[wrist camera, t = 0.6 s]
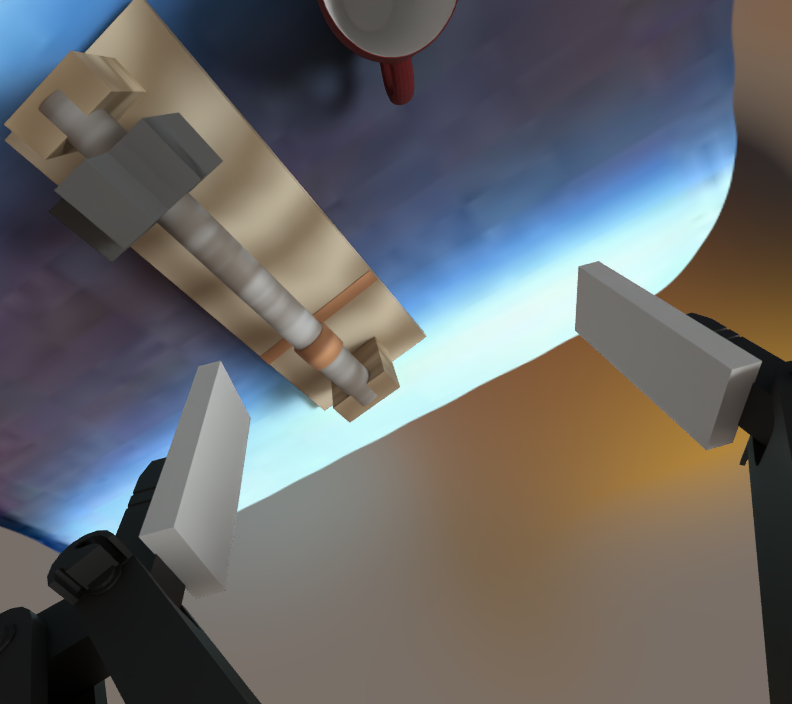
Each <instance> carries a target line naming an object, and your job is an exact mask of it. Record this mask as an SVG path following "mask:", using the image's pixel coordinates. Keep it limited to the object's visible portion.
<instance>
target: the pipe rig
mask: <svg viewBox="0 0 792 704" xmlns="http://www.w3.org/2000/svg"><path fill="white" fill-rule="evenodd" d="M178 112H179V113H180V114H181V115H182V116H183V117H184V119H185V120H186V121H187V122H188V123H189V124H190V125H191V126H192V127H193V128H194V129H195V131H196V132H197V133H198V134H199V135H200V136H201V137H202V138H203V139H204V140H205V141H206V143H207V144H208V145H209V146H210V147H211V148H212V149H213V150H214V151H215V152H216V153H217V155H218V156H219V157H220V158H221V159H222V160H223V162H222V163H221V164H220V165H219V166H217V167H216V168H215V169H214V170H213V171H212V172H211V173H210V174H209V175H208V176H207V177H206V178H205V179H203V180H202V181H201V182H200V183H199V184H198V185H197V186H196V187H195V188H194V189H193V190H192V191H190V192H189V193H187V194H185V195H184V196H183V197H182V198H181V199H180V200H179V201H178V202H177V203H176V204H175V205H174V206H173V207H171V208H170V209H169V210H168V211H167V212H166V213H165V214H164V215H163V216H162V217H161V218H160V219H159V220H157V221H156V222H157V223H156V224H155V225H154V226H153V227H152V228H151V229H149V230H148V231H147V232H146V233H145V234H144V235H143V236H141V237H140V238H139V239H138V240H137V241H136V242H134V243H133V244H132V245H131V246H130V247H131V248H132V249H134V250H135V251H136V252H137V253H138V254H140V255H141V256H142V257H143V258H144V259H145V260H147V261H148V262H149V263H150V264H151V265H153V266H154V267H155V268H156V269H157V270H159V271H160V272H161V273H162V274H163V275H164V276H166V277H167V278H168V279H169V280H170V281H172V282H173V283H174V284H175V285H176V286H177V287H179V288H180V289H181V290H182V291H183V292H185V293H186V294H187V295H188V296H189V297H190V298H192V299H193V300H194V301H195V302H196V303H198V304H199V305H200V306H201V307H202V308H204V309H205V310H206V311H207V312H208V313H209V314H211V315H212V316H213V317H214V318H215V319H217V320H218V321H219V322H220V323H221V324H222V325H224V326H225V327H226V328H227V329H228V330H230V331H231V332H232V333H233V334H234V335H235V336H237V337H238V338H239V339H240V340H241V341H243V342H244V343H245V344H246V345H247V346H249V347H250V348H251V349H252V350H253V351H254V352H256V353H257V354H258V355H259V356H260V357H261V358H262V359H263V360H264V361H265V362H267V363H268V364H270V365H271V366H272V367H273V368H275V369H276V370H277V371H278V372H279V373H280V374H282V375H283V376H284V377H285V378H286V379H288V380H289V381H290V382H291V383H292V384H294V385H295V386H296V387H297V388H298V389H299V390H301V391H302V392H303V393H304V394H305V395H307V396H308V397H309V398H310V399H311V400H312V401H314V402H315V403H316V404H317V405H318V406H320V407H321V408H322V409H323V410H324V411H325V410H326V409H328V408H329V407H331V406H332V405H333V409H335V410H336V411H337V412H338V413H339V414H340V415H342V416H343V417H344V418H345V419H346V420H347V421H349V422H351V421H353V420H354V419H356V418H357V417H358V416H360V415H361V414H363V413H364V412H366V411H367V410H368V409H370V408H371V407H373V406H374V405H375V404H377V403H378V402H380V401H381V400H382V399H384V398H385V397H387V396H388V395H389V394H391V393H392V392H394V391H395V390H396V389H398V388H399V387H400V386H399V382H398V379H397V376H396V373H395V370H394V366H393V363H392V361H394V360H395V359H397V358H398V357H399V356H401V355H402V354H403V353H405V352H406V351H408V350H409V349H410V348H412V347H413V346H414V345H416V344H417V343H419V342H420V341H421V340H423V339H424V338H425V337H426V336H425V333H424V331H423V330H422V329H421V328H420V327H419V325H418V324H417V323H416V322H415V321H414V320H413V318H412V317H411V316H410V315H409V314H408V312H407V311H406V310H405V309H404V308H403V306H402V305H401V304H400V303H399V302H398V300H397V299H396V298H395V297H394V296H393V294H392V293H391V292H390V291H389V290H388V288H387V287H386V286H385V285H384V284H383V283H382V281H381V280H380V279H379V278H378V277H377V275H376V274H375V273H374V272H373V271H372V269H371V268H370V267H369V266H368V265H367V263H366V262H365V261H364V260H363V259H362V257H361V256H360V255H359V254H358V253H357V252H356V250H355V249H354V248H353V247H352V246H351V244H350V243H349V242H348V241H347V240H346V238H345V237H344V236H343V235H342V234H341V232H340V231H339V230H338V229H337V228H336V226H335V225H334V224H333V223H332V222H331V221H330V219H329V218H328V217H327V216H326V215H325V213H324V212H323V211H322V210H321V209H320V207H319V206H318V205H317V204H316V203H315V201H314V200H313V199H312V198H311V197H310V195H309V194H308V193H307V192H306V191H305V189H304V188H303V187H302V186H301V185H300V184H299V182H298V181H297V180H296V179H295V178H294V176H293V175H292V174H291V173H290V172H289V170H288V169H287V168H286V167H285V166H284V164H283V163H282V162H281V161H280V160H279V158H278V157H277V156H276V155H275V154H274V153H273V151H272V150H271V149H270V148H269V147H268V145H267V144H266V143H265V142H264V141H263V139H262V138H261V137H260V136H259V135H258V133H257V132H256V131H255V130H254V129H253V127H252V126H251V125H250V124H249V123H248V121H247V120H246V119H245V118H244V117H243V116H242V114H241V113H240V112H239V111H238V110H237V108H236V107H235V106H234V105H233V104H232V102H231V101H230V100H229V99H228V98H227V96H226V95H225V94H224V93H223V92H222V90H221V89H220V88H219V87H218V86H217V85H216V83H215V82H214V81H213V80H212V79H211V77H210V76H209V75H208V74H207V73H206V71H205V70H204V69H203V68H202V67H201V65H200V64H199V63H198V62H197V61H196V59H195V58H194V57H193V56H192V55H191V53H190V52H189V51H188V50H187V49H186V48H185V46H184V45H183V44H182V43H181V42H180V40H179V39H178V38H177V37H176V36H175V34H174V33H173V32H172V31H171V30H170V28H169V27H168V26H167V25H166V24H165V22H164V21H163V20H162V19H161V18H160V17H159V15H158V14H157V13H156V12H155V11H154V9H153V8H152V7H151V6H150V5H149V3H148V2H147V1H146V0H133V1H132V2H131V3H130V4H129V5H128V6H127V8H126V9H125V10H124V11H123V12H122V13H121V14H120V15H119V16H118V17H117V18H116V20H115V21H114V22H113V23H112V24H111V25H110V26H109V27H108V28H107V29H106V30H105V31H104V33H103V34H102V35H101V36H100V37H99V38H98V39H97V40H96V41H95V42H94V43H93V44H92V46H91V47H90V48H89V49H88V50H87V51H86V52H85V53H82V52H76V51H70V52H69V53H68V54H67V56H66V57H65V58H64V59H63V60H62V61H61V62H60V63H59V64H58V65H57V66H56V68H55V69H54V70H53V71H52V72H51V73H50V74H49V75H48V76H47V77H46V79H45V80H44V81H43V82H42V83H41V84H40V85H39V86H38V87H37V88H36V90H35V91H34V92H33V93H32V94H31V95H30V96H29V97H28V98H27V99H26V101H25V102H24V103H23V104H22V105H21V106H20V107H19V108H18V109H17V110H16V111H15V113H14V114H13V115H12V116H11V117H10V118H9V119H8V120H7V121H6V122H5V124H4V125H5V126H6V127H7V128H9V129H10V130H11V131H12V132H11V134H10V135H9V136H8V137H7V138H6V139H5V141H6V142H7V143H8V144H9V145H10V146H12V147H13V148H14V149H15V150H16V151H18V152H19V153H20V154H21V155H22V156H24V157H25V158H26V159H27V160H28V161H29V162H31V163H32V164H33V165H34V166H35V167H37V168H38V169H39V170H40V171H41V172H42V173H44V174H45V175H46V176H47V177H48V178H50V179H51V180H52V181H53V182H54V183H55V184H57V185H58V186H59V185H60V184H61V183H62V182H63V181H64V180H65V179H66V178H67V177H68V176H69V175H70V174H71V173H72V172H73V171H74V170H75V169H76V168H77V167H78V166H79V165H80V164H81V163H82V162H83V161H84V160H85V159H88V158H91V157H94V156H97V155H101V154H104V153H107V152H109V151H110V150H111V149H112V148H113V147H114V146H115V145H116V144H117V143H118V142H119V141H120V140H121V139H122V138H123V137H124V136H125V135H126V134H127V133H128V132H129V131H130V130H131V129H132V128H133V127H134V126H135V125H136V124H137V123H138V122H139V121H140V120H141V119H142V118H147V117H153V116H159V115H165V114H171V113H178Z"/></svg>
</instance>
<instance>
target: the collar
mask: <svg viewBox="0 0 792 704" xmlns="http://www.w3.org/2000/svg"><path fill="white" fill-rule="evenodd" d="M222 162H223V160H222V159H221V158H220V157H219V156H218V155H217V153H216V152H215V151H214V150H213V149H212V148H211V147H210V146H209V145H208V144H207V143H206V141H205V140H204V139H203V138H202V137H201V136H200V135H199V134H198V133H197V132H196V131H195V129H194V128H193V127H192V126H191V125H190V124H189V123H188V122H187V121H186V120H185V119H184V117H183V116H182V115H181V114H180V113H179V112H178V113H171V114H165V115H159V116H153V117H147V118H142V119H141V120H140V121H139V122H138V123H137V124H136V125H135V126H134V127H133V128H132V129H131V130H130V131H129V132H128V133H127V134H126V135H125V136H124V137H123V138H122V139H121V140H120V141H119V142H118V143H117V144H116V145H115V146H114V147H113V148H112V149H111V150H110V151H109V152H107V153H104V154H101V155H97V156H94V157H91V158H88V159H85V160H84V161H83V162H82V163H81V164H80V165H79V166H78V167H77V168H76V169H75V170H74V171H73V172H72V173H71V174H70V175H69V176H68V177H67V178H66V179H65V180H64V181H63V182H62V183H61V184H60V185H59V186H58V187H57V188H56V189H55V190H54V191H55V192H56V193H58V194H59V195H60V196H61V197H62V199H61V200H60V201H59V202H58V203H57V204H56V205H55V206H54V207H53V208H52V209H51V210H50V211H49V212H50V213H51V214H52V215H54V216H55V217H56V218H57V219H59V220H60V221H61V222H62V223H64V224H65V225H66V226H67V227H69V228H70V229H71V230H72V231H73V232H75V233H76V234H77V235H78V236H80V237H81V238H82V239H83V240H85V241H86V242H87V243H88V244H90V245H91V246H92V247H93V248H95V249H96V250H97V251H98V252H100V253H101V254H102V255H103V256H105V257H106V258H107V259H108V260H110V261H111V262H113V261H114V260H115V259H116V258H117V257H118V256H120V255H121V254H122V253H123V252H124V251H125V250H126V249H128V248H129V247H130V246H131V245H132V244H133V243H134V242H136V241H137V240H138V239H139V238H140V237H141V236H143V235H144V234H145V233H146V232H147V231H148V230H149V229H151V228H152V227H153V226H154V225H155V224H156V223H157V222H156V221H157V220H159V219H160V218H161V217H162V216H163V215H164V214H165V213H166V212H167V211H168V210H169V209H170V208H171V207H173V206H174V205H175V204H176V203H177V202H178V201H179V200H180V199H181V198H182V197H183V196H184V195H185V194H187V193H189V192H190V191H192V190H193V189H194V188H195V187H196V186H197V185H198V184H199V183H200V182H201V181H202V180H203V179H205V178H206V177H207V176H208V175H209V174H210V173H211V172H212V171H213V170H214V169H215V168H216V167H217V166H219V165H220V164H221V163H222Z"/></svg>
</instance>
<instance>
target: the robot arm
mask: <svg viewBox="0 0 792 704" xmlns="http://www.w3.org/2000/svg"><path fill="white" fill-rule="evenodd" d="M575 331H576V332H577V333H578V334H580V335H581V336H582V337H583V338H584V339H585V340H586V341H587V342H588V343H589V344H591V345H592V346H593V347H594V348H595V349H596V350H597V351H598V352H599V353H600V354H601V355H603V356H604V357H605V358H606V359H607V360H608V361H609V362H610V363H611V364H612V365H614V366H615V367H616V368H617V369H618V370H619V371H620V372H621V373H622V374H623V375H624V376H626V377H627V378H628V379H629V380H630V381H631V382H632V383H633V384H634V385H635V386H637V387H638V388H639V389H640V390H641V391H642V392H643V393H644V394H645V395H646V396H647V397H649V398H650V399H651V400H652V401H653V402H654V403H655V404H656V405H657V406H658V407H660V408H661V409H662V410H663V411H664V412H665V413H666V414H667V415H668V416H669V417H670V418H672V419H673V420H674V421H675V422H676V423H677V424H678V425H679V426H680V427H681V428H683V429H684V430H685V431H686V432H687V433H688V434H689V435H690V436H691V437H692V438H693V439H695V440H696V441H697V442H698V443H699V444H700V445H701V446H702V447H703V448H705V449H706V450H709V449H712V448H716V447H719V446H723V445H726V444H730V443H733V440H734V437H735V435H736V432H737V429H738V427H739V426H740V427H741V428H742V429H743V430H745V431H746V432H747V433H749V434H750V438H749V440H748V442H747V445H746V448H745V450H744V453H743V455H742V458H741V461H740V465H745V464H746V461H747V460H749V472H750V483H751V493H752V505H753V517H754V527H755V539H756V550H757V561H758V572H759V582H760V595H761V606H762V617H763V628H764V639H765V651H766V662H767V673H768V684H769V695H770V704H792V361H788V362H785V361H783V360H782V359H780V358H778V357H776V356H775V355H773V354H771V353H770V352H768V351H766V350H765V349H763V348H761V347H759V346H758V345H756V344H754V343H753V342H751V341H749V340H747V339H746V338H744V337H740V336H739V334H737V333H735V332H734V331H732V330H730V329H729V330H727V328H726V327H725V326H723V325H721V324H720V323H718V322H716V321H715V320H713V319H711V318H708V317H704V316H701V315H698V314H695V313H689V314H684V313H682V312H681V311H679V310H678V309H676V308H674V307H672V306H671V305H669V304H668V303H666V302H664V301H663V300H661V299H659V298H658V297H656V296H655V295H653V294H651V293H650V292H648V291H646V290H645V289H643V288H641V287H640V286H638V285H637V284H635V283H633V282H632V281H630V280H628V279H627V278H625V277H623V276H622V275H620V274H619V273H617V272H615V271H614V270H612V269H610V268H609V267H607V266H605V265H604V264H602V263H600V262H599V261H598V262H594V263H590V264H586V265H582V266H579V268H578V286H577V304H576V322H575ZM250 419H251V418H250V416H249V414H248V412H247V410H246V409H245V407H244V405H243V403H242V401H241V399H240V397H239V395H238V393H237V391H236V389H235V387H234V385H233V384H232V382H231V380H230V378H229V376H228V374H227V372H226V370H225V368H224V366H223V364H222V362H221V361H217V362H214V363H210V364H206V365H202V366H199V367H198V370H197V373H196V375H195V378H194V381H193V384H192V387H191V390H190V393H189V395H188V398H187V401H186V404H185V407H184V410H183V412H182V415H181V418H180V421H179V424H178V427H177V429H176V432H175V435H174V438H173V441H172V444H171V447H170V449H169V452H168V455H167V457H166V458H162V459H158V460H155V461H152V462H151V463H150V464H149V465H148V467H147V468H146V469H145V470H144V472H143V473H142V474H141V475H140V477H139V479H138V481H137V484H136V486H135V489H134V491H133V496H131V499H130V501H129V504H128V509H126V511H125V513H124V516H123V518H122V521H121V523H120V526H119V528H118V531H117V533H116V536H115V535H114V534H113V533H111V532H109V531H107V530H100V531H95V532H92V533H89V534H86V535H84V536H83V537H81V538H79V539H78V540H76V541H75V542H73V543H72V544H71V545H69V546H68V547H67V548H66V549H65V550H64V551H63V552H62V553H61V554H60V555H59V556H58V558H57V559H56V560H55V562H54V563H53V564H52V566H51V569H50V571H49V574H48V576H47V579H48V586H49V587H50V588H52V589H53V590H54V591H56V592H57V593H58V594H59V595H61V596H62V597H63V598H64V599H63V600H62V601H60V602H58V603H56V604H54V605H53V606H51V607H49V608H47V609H45V610H44V611H42V612H40V613H38V614H35V613H33V612H32V611H30V610H29V609H26V608H24V607H17V608H12V609H9V610H7V611H5V612H3V613H1V614H0V704H107V697H106V688H105V680H104V679H106V678H107V677H109V676H111V678H112V679H113V681H114V683H115V685H116V687H117V689H118V691H119V693H120V695H121V696H122V698H123V700H124V702H125V704H261V703H260V701H259V700H258V699H257V698H256V696H255V695H254V694H253V693H252V692H251V690H250V689H249V688H248V686H247V685H246V684H245V683H244V681H243V680H242V679H241V678H240V676H239V675H238V674H237V673H236V671H235V670H234V669H233V667H232V666H231V665H230V664H229V663H228V661H227V660H226V659H225V657H224V656H223V655H222V654H221V652H220V651H219V650H218V649H217V647H216V646H215V645H214V644H213V642H212V641H211V640H210V639H209V637H208V636H207V635H206V633H205V632H204V631H203V630H202V628H201V627H200V626H199V625H198V623H197V622H196V621H195V620H194V618H193V617H192V616H191V615H190V613H189V612H188V611H187V610H186V609H185V607H184V606H183V605H182V599H183V595H184V591H185V588H186V589H187V590H188V591H189V592H190V593H191V595H192V596H193V597H194V598H195V599H198V598H201V597H205V596H208V595H211V594H215V593H218V592H221V591H225V590H226V584H227V576H228V570H229V563H230V557H231V549H232V542H233V535H234V529H235V522H236V514H237V508H238V501H239V495H240V488H241V481H242V474H243V467H244V460H245V453H246V446H247V439H248V433H249V426H250Z"/></svg>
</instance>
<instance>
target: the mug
mask: <svg viewBox="0 0 792 704" xmlns="http://www.w3.org/2000/svg"><path fill="white" fill-rule="evenodd" d="M317 1H318V4H319V7H320V9H321V12H322V14H323V16H324V18H325V20H326V22H327V24H328V26H329V27H330V29H331V30H332V32H333V33H334V34H335V36H336V37H337V38H338V39H339V40H340V42H341V43H343V44H344V45H345V46H346V47H347V48H348V49H350V50H351V51H352V52H354V53H355V54H357V55H359V56H361V57H363V58H366V59H369V60H372V61H376V62H380V66H381V71H382V77H383V82H384V86H385V89H386V92H387V95H388V97H389V99H390V101H391V102H392V103H393V104H395V105H403V104H406V103H408V102H409V101H410V100H411V99H412V97H413V94H414V74H413V67H412V61H411V58H412V56H413V55H415V54H416V53H418V52H420V51H422V50H423V49H425V48H426V47H428V46H429V45H430V44H431V43H432V42H433V41H434V40H435V39H436V38H437V37H438V36H439V35H440V34H441V32H442V31H443V30H444V28H445V27H446V25H447V24H448V22H449V20H450V18H451V16H452V14H453V12H454V10H455V7H456V4H457V1H458V0H317Z"/></svg>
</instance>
